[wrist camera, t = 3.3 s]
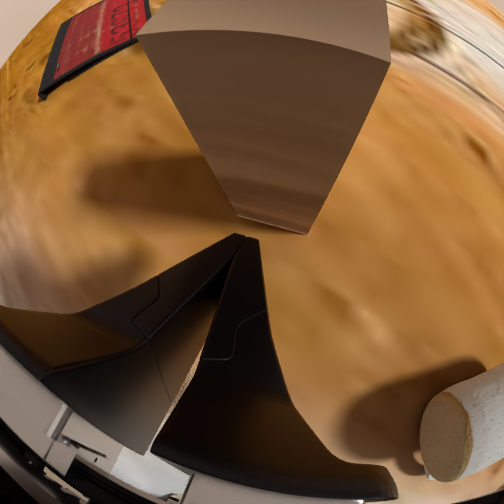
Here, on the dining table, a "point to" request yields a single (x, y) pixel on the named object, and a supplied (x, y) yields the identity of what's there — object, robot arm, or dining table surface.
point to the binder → (93, 38)
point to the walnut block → (272, 93)
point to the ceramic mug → (464, 427)
